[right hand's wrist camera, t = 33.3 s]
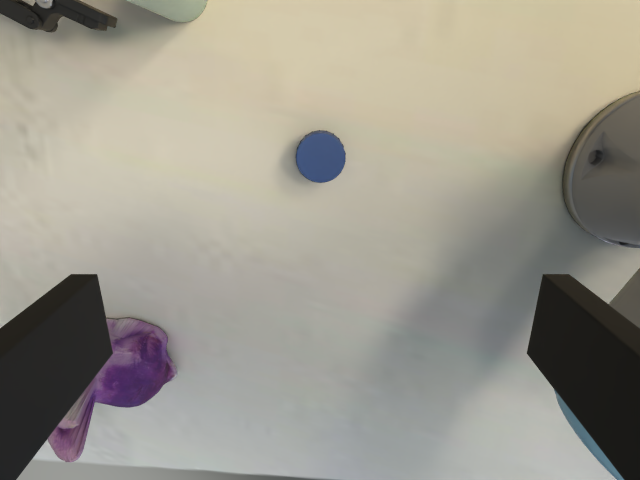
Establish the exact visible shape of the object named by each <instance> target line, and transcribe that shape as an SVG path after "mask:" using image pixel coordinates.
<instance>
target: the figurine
mask: <svg viewBox="0 0 640 480" xmlns="http://www.w3.org/2000/svg"><path fill="white" fill-rule="evenodd" d="M106 321H107V326H108V331H109V336H110V340H111V345H112V350H113V354H112V355H111V357H110V358H109V359H108V361H107V362H106V363H105V365H104V366H103V367H102V368H101V370H100V371H99V372H98V374H97V375H96V376H95V378H94V379H93V380H92V381H91V383H90V384H89V385H88V387H87V388H86V389H85V391H84V392H83V393H82V394H81V396H80V397H79V398H78V400H77V401H76V402H75V404H74V405H73V406H72V408H71V409H70V410H69V411H68V413H67V414H66V415H65V417H64V418H63V419H62V421H61V422H60V423H59V424H58V426H57V427H56V428H55V430H54V431H53V432H52V434H51V435H50V436H49V437H48V441H49V443H50V445H51V447H52V449H53V450H54V452H55V454H56V455H57V456H58V457H59V458H60V459H61V460H64V461H65V462H73V461H75V460H77V459H78V458H79V457H80V455H81V454H82V452H83V449H84V445H85V441H86V436H87V432H88V428H89V424H90V420H91V415H92V411H93V407H94V403H95V402H98V403H103V404H107V405H112V406H117V407H135V406H139V405H141V404H143V403H145V402H147V401H148V400H149V399H151V398H152V397H153V396H154V395H155V394H157V393H158V392H159V390H160V389H161V387H162V386H163V385H164V384H165V383H167V382H169V381H171V380H173V379H174V378H175V377H176V376H177V368H176V366H175V364H174V363H173V361H172V360H171V359H170V357H169V355H168V353H167V350H166V345H167V342H168V338H167V335H166V334H165V333H164V332H163V331H162V329H161V328H159V327H157V326H154V325H151V324H149V323H146V322H143V321H140V320H137V319H132V318H123V319H118V320H116V319H107V318H106Z"/></svg>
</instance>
